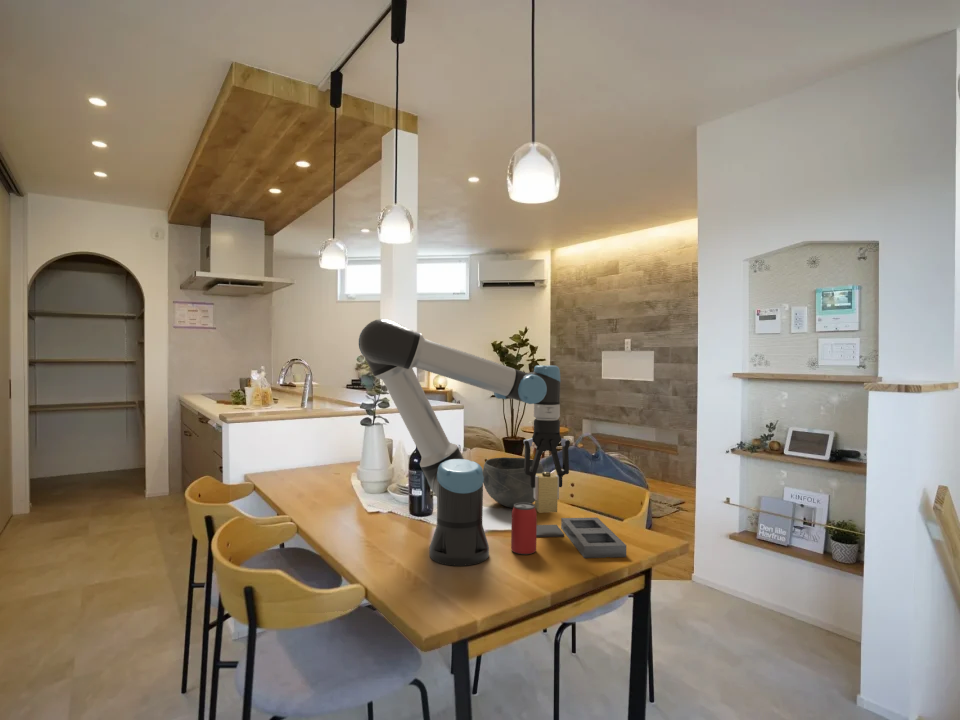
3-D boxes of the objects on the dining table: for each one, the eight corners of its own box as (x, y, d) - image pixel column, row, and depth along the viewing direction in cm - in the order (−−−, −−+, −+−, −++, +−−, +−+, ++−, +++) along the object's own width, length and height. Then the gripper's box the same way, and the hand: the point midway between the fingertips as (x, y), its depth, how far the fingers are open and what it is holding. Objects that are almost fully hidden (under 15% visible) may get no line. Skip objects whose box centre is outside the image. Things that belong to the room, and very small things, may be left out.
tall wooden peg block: (538, 512, 158) (539, 474, 158) (535, 507, 163) (535, 470, 163) (557, 512, 158) (557, 474, 158) (553, 507, 164) (553, 470, 164)
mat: (532, 537, 156) (532, 535, 156) (527, 527, 165) (527, 525, 165) (564, 536, 157) (564, 534, 157) (556, 526, 166) (556, 524, 166)
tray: (584, 558, 141) (584, 546, 141) (561, 528, 164) (561, 518, 164) (626, 557, 142) (626, 545, 142) (597, 527, 166) (597, 517, 165)
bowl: (483, 496, 199) (483, 455, 199) (541, 498, 198) (542, 456, 198) (480, 513, 178) (481, 467, 178) (546, 515, 177) (547, 468, 177)
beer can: (505, 550, 146) (506, 504, 145) (523, 544, 150) (524, 500, 150) (523, 557, 140) (524, 510, 140) (541, 551, 145) (542, 506, 145)
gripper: (517, 420, 156) (516, 502, 156) (581, 420, 158) (580, 501, 158) (513, 417, 163) (512, 495, 164) (574, 416, 165) (573, 494, 165)
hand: (546, 498), depth 161 cm, fingers closed on tall wooden peg block, 5 cm apart
